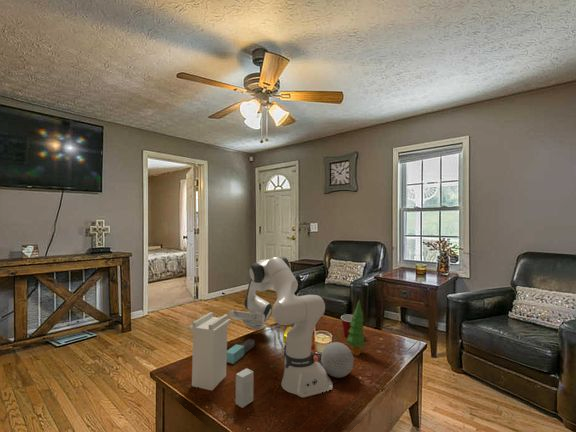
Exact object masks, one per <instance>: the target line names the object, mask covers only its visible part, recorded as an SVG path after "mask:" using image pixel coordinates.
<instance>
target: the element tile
mask: <svg viewBox="0 0 576 432" xmlns="http://www.w3.org/2000/svg"><path fill="white" fill-rule="evenodd" d="M292 327H293V326H287V327H286V329H285V331H284V332H283V335H282V337H283V338H282V341H283V343H285V344H286V336H287V333H288V332H289V331H290V330H291V329H292Z"/></svg>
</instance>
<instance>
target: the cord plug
mask: <svg viewBox="0 0 576 432" xmlns="http://www.w3.org/2000/svg"><path fill="white" fill-rule="evenodd" d="M254 347H255V339H252V338H248V339H247V340H245V341H243V342H242V343H241V344H237V343H235V344H234V345H233V346H231V347H230V348H229V349H227V363H228V364H232V365H234V364H235V363H236V362H238V361H239V360H241V358H243V357H244V356H245V355H246V353H248V352H249V351H250V350H251V349H253V348H254Z"/></svg>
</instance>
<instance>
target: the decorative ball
mask: <svg viewBox="0 0 576 432" xmlns="http://www.w3.org/2000/svg"><path fill="white" fill-rule="evenodd" d="M320 357H321V358H320V359H321V360H320V362H321V365H322V366H323V367H324V369H325V371H326V373H327V375H330V376H331V377H332V378H337V379H339V378H344V377H346V376H348V374H350V373H351V371H352V370H353V367H354V363H355V362H354V361H355V360H354V355H353V354H352V353H351V349H350V348H349V346H347V345H346V344H345V343H342V342H338V341H334V342H329V344H327V345H326V346H324V349H323V350H322V352H321V355H320Z"/></svg>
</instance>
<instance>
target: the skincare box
mask: <svg viewBox="0 0 576 432" xmlns="http://www.w3.org/2000/svg"><path fill="white" fill-rule="evenodd" d="M254 375H255V374H254V371H253V370H251V369H249V368H247V367H246V368H245V369H242V370H240V371H239V372H237V373H235V405H237V406H238V407H240V408H242V409H243V408H245V407H246V406H247V405H249V404H250V403H252V402H254V380H255V379H254Z"/></svg>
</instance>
